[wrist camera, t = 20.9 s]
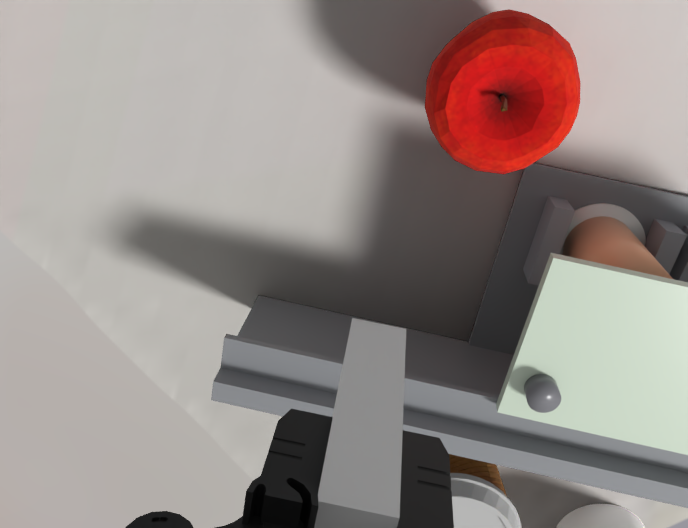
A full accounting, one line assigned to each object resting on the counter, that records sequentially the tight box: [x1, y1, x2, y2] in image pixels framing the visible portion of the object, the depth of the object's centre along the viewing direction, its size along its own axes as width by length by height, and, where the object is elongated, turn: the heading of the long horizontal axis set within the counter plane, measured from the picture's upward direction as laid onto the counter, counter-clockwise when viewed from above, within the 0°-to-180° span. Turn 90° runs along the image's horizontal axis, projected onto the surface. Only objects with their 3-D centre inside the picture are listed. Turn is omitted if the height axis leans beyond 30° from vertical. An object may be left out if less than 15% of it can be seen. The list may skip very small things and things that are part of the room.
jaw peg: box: [563, 216, 673, 279], centre depth 42 cm, size 5×5×9 cm
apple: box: [425, 10, 580, 174], centre depth 38 cm, size 9×9×11 cm
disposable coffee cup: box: [449, 454, 521, 528], centre depth 50 cm, size 10×10×12 cm
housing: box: [211, 163, 688, 508], centre depth 43 cm, size 17×39×12 cm, turn 79°
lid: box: [496, 253, 688, 455], centre depth 37 cm, size 11×18×2 cm, turn 79°
